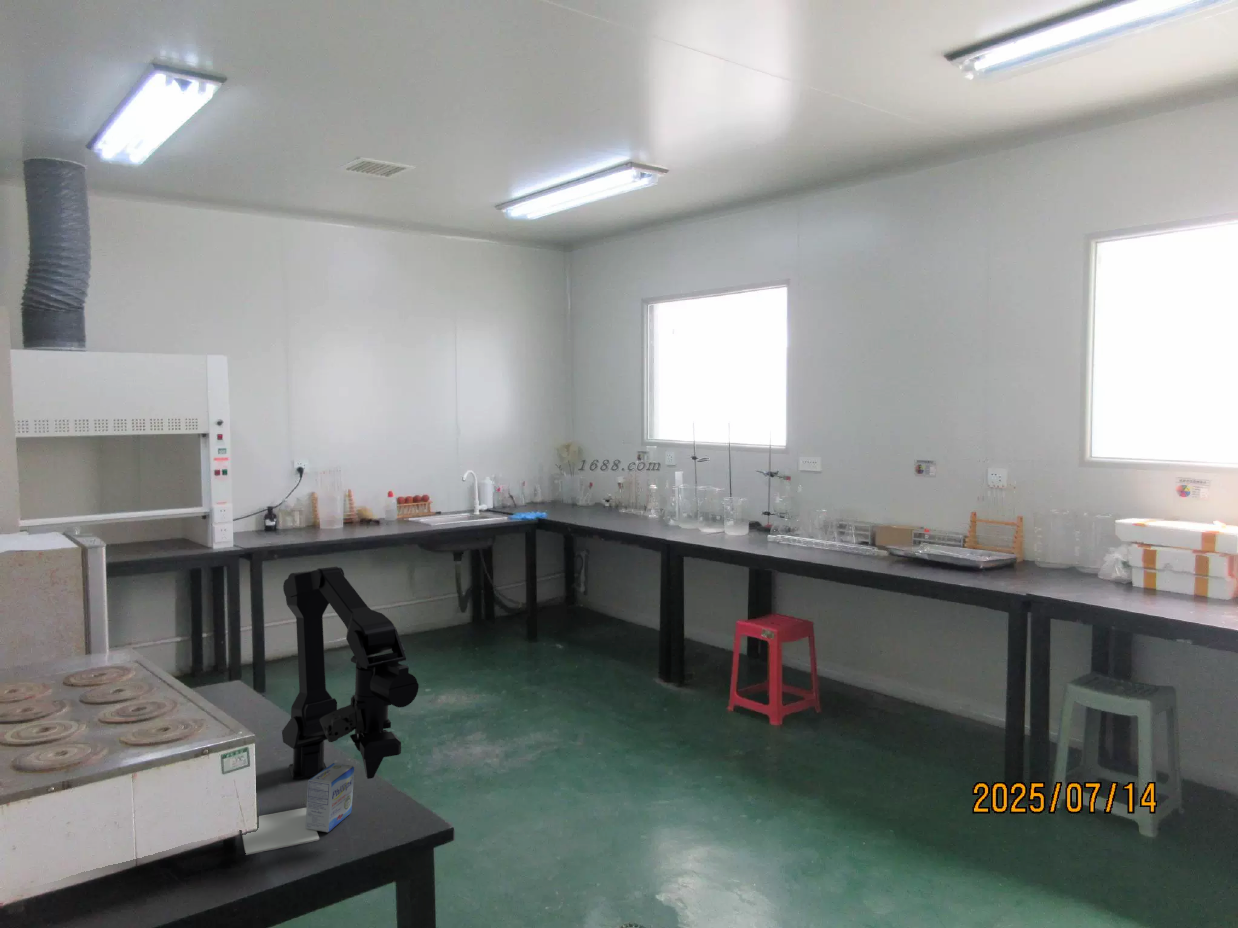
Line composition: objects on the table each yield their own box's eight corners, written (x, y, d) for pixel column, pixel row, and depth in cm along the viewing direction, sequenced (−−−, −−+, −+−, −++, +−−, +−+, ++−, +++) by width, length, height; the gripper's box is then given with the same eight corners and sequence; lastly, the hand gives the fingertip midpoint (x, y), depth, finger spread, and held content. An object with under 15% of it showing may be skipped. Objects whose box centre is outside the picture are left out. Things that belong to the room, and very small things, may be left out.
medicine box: (328, 833, 140) (331, 783, 140) (304, 829, 141) (307, 778, 140) (352, 813, 148) (355, 765, 147) (329, 809, 149) (332, 761, 148)
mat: (239, 821, 143) (239, 819, 143) (308, 808, 149) (308, 806, 149) (245, 854, 133) (245, 852, 133) (319, 839, 138) (319, 838, 138)
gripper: (315, 681, 151) (313, 764, 152) (334, 715, 135) (332, 809, 136) (377, 673, 156) (375, 754, 157) (403, 706, 140) (400, 796, 141)
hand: (369, 777), depth 148 cm, fingers closed
